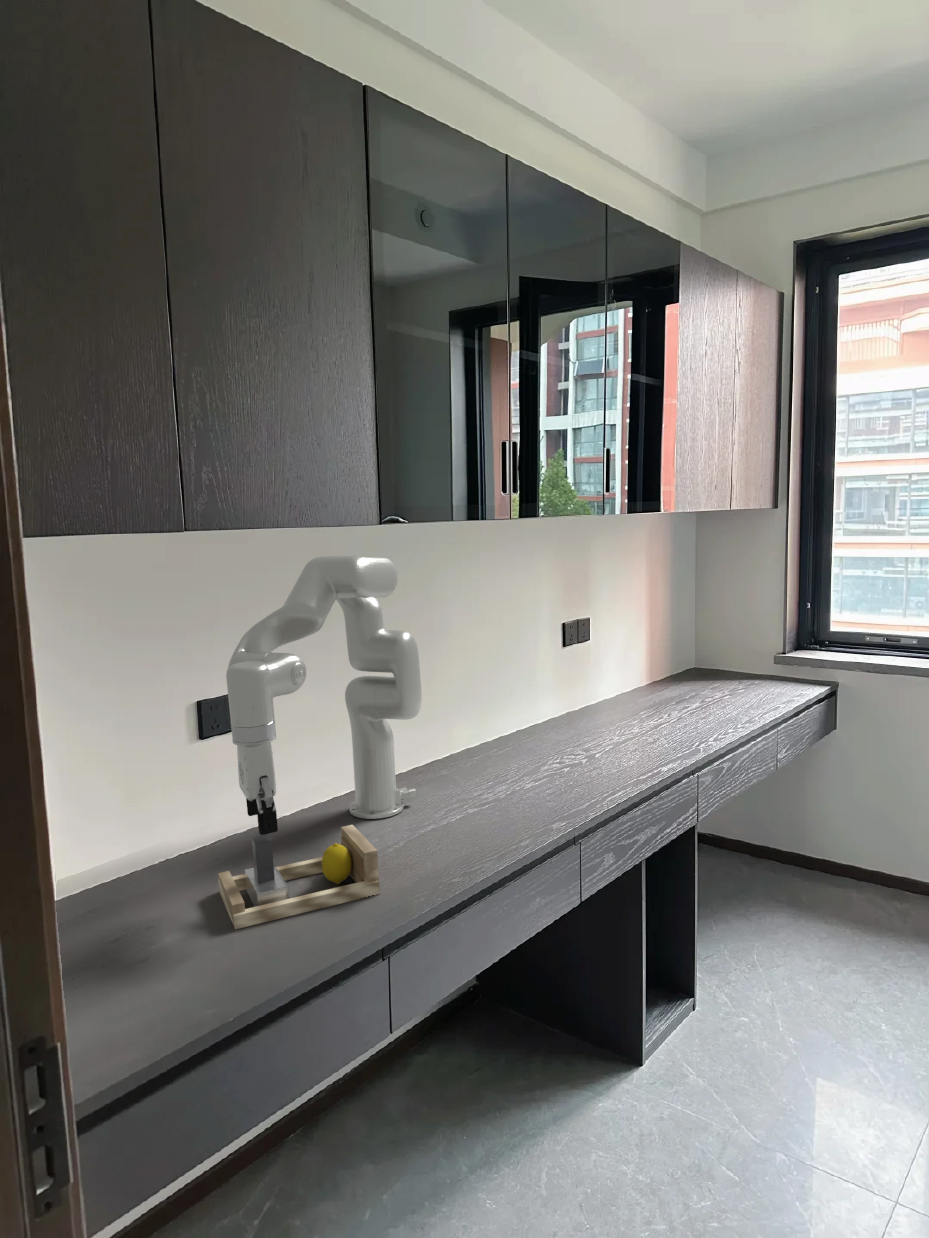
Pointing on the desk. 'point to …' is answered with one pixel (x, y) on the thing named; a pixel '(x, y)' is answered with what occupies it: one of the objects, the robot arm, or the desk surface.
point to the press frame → (361, 873)
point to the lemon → (336, 863)
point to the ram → (264, 875)
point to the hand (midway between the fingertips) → (262, 823)
